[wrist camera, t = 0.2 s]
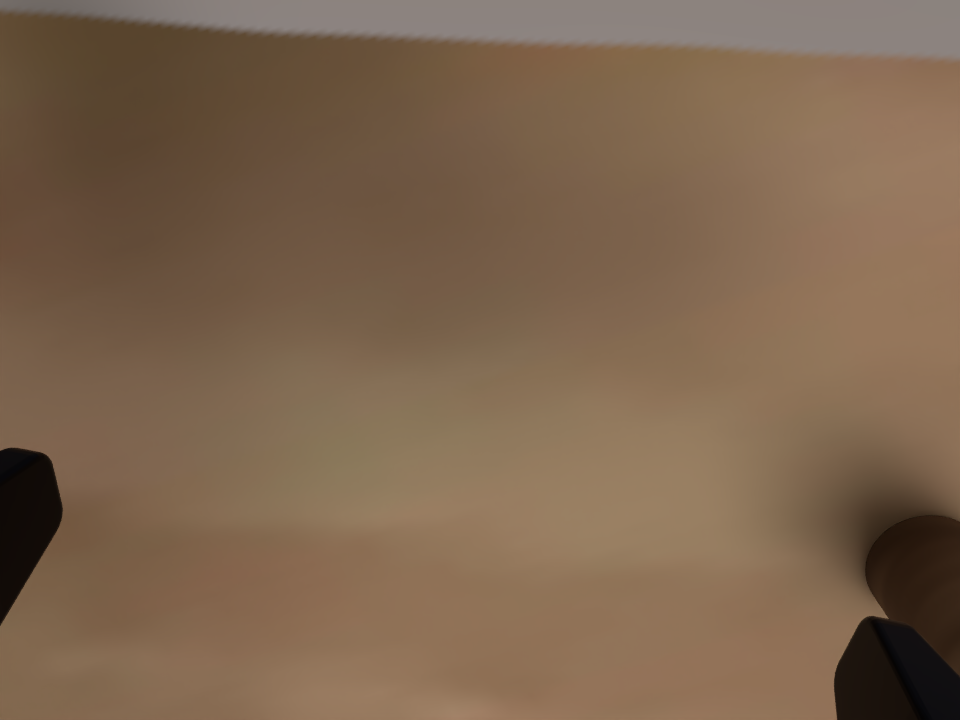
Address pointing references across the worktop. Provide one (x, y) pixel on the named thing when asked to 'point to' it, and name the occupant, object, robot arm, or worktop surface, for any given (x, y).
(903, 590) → the walnut pin
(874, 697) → the robot arm
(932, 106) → the worktop surface
